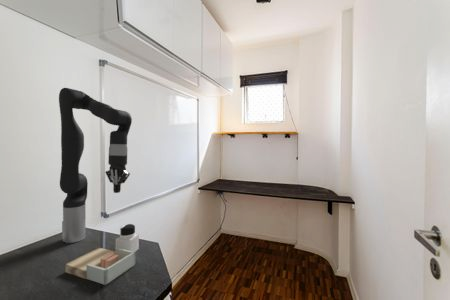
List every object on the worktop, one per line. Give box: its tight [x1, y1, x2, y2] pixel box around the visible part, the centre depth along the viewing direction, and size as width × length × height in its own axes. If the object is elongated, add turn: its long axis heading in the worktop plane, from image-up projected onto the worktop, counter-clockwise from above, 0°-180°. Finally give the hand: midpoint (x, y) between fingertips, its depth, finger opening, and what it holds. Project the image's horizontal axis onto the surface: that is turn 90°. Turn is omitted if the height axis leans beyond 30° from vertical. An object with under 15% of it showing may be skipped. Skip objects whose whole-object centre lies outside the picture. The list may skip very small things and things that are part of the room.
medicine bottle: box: [115, 223, 140, 253], centre depth 94 cm, size 7×7×12 cm
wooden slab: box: [64, 247, 116, 280], centre depth 83 cm, size 11×14×3 cm
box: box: [85, 248, 136, 286], centre depth 80 cm, size 9×14×5 cm
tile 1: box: [101, 253, 115, 268], centre depth 81 cm, size 4×4×2 cm
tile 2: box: [105, 255, 119, 269], centre depth 80 cm, size 4×4×2 cm
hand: (116, 192), depth 95 cm, fingers closed
